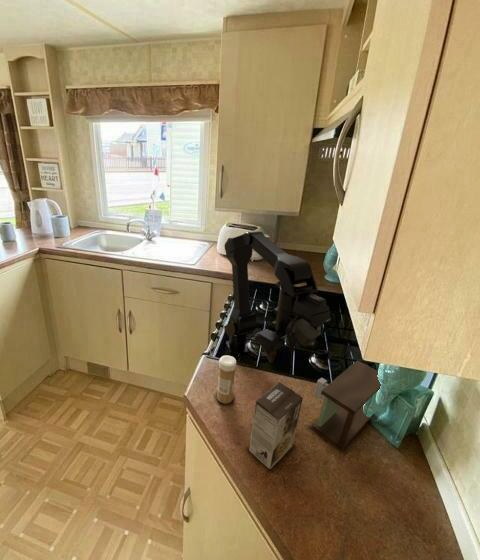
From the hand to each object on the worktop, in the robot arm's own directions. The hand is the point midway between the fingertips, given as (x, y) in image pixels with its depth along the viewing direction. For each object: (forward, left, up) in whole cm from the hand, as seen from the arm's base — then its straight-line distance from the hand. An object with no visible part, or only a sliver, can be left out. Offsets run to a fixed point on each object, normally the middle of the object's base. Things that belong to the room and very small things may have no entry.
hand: (281, 355), depth 88 cm
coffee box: (+19, -9, -12) cm, 24 cm away
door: (+12, +7, -10) cm, 17 cm away
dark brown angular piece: (+14, +13, -12) cm, 23 cm away
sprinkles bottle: (+2, -16, -12) cm, 20 cm away
